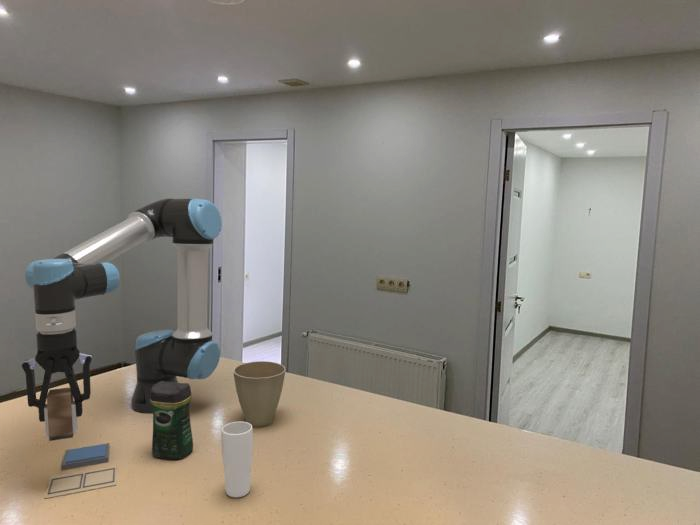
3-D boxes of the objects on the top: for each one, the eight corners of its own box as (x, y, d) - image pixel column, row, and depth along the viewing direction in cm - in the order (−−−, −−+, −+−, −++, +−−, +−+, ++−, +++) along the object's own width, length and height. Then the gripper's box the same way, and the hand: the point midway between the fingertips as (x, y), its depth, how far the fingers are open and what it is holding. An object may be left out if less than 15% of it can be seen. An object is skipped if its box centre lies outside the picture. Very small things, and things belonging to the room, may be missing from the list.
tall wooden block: (74, 429, 116) (72, 387, 115) (72, 437, 112) (70, 394, 111) (52, 432, 114) (49, 389, 113) (49, 441, 110) (46, 396, 109)
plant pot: (240, 436, 139) (239, 380, 137) (229, 415, 153) (228, 364, 151) (292, 427, 145) (292, 373, 143) (277, 408, 159) (277, 358, 157)
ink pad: (109, 447, 132) (109, 442, 132) (108, 462, 125) (108, 456, 125) (65, 454, 128) (65, 449, 128) (62, 470, 121) (61, 464, 121)
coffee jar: (198, 447, 133) (196, 379, 130) (181, 462, 125) (179, 390, 123) (165, 443, 135) (163, 375, 133) (146, 457, 127) (144, 386, 125)
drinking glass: (225, 484, 116) (223, 421, 114) (255, 483, 116) (254, 420, 115) (220, 501, 109) (218, 435, 107) (251, 500, 110) (251, 434, 108)
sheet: (117, 466, 123) (116, 464, 123) (116, 485, 115) (116, 483, 115) (50, 478, 117) (50, 476, 117) (44, 499, 109) (44, 497, 109)
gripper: (4, 338, 104) (12, 446, 106) (100, 330, 111) (105, 432, 113) (12, 329, 110) (19, 431, 113) (102, 323, 117) (106, 419, 120)
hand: (62, 432), depth 113 cm, fingers closed on tall wooden block, 4 cm apart
